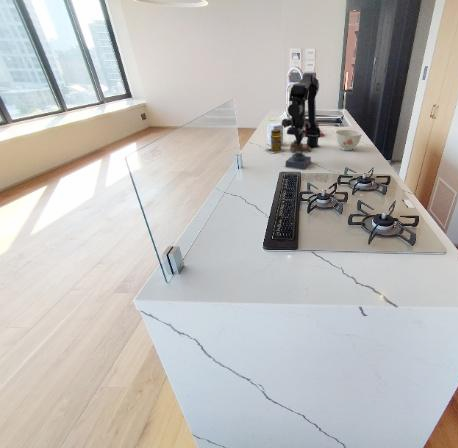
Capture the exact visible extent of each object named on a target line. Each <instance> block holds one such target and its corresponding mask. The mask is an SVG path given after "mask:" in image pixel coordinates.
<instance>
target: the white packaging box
mask: <svg viewBox="0 0 458 448" xmlns="http://www.w3.org/2000/svg"><path fill="white" fill-rule="evenodd" d="M272 130H280V135H281V146H283V145H284V126H283V125H282V123H277V122H275V123H267V124H266V133H267V134H266V135H267V137H266V138H267V145H269V146H271V131H272Z"/></svg>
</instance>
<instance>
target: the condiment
mask: <svg viewBox="0 0 458 448" xmlns="http://www.w3.org/2000/svg"><path fill="white" fill-rule="evenodd" d="M266 151H267V152H268V153H271V154H274V153H279V152H280V153H282V152H284V149H282V145H281V135H280V130H272V131H271V145H270V148H267V149H266Z"/></svg>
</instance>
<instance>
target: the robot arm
mask: <svg viewBox="0 0 458 448" xmlns="http://www.w3.org/2000/svg"><path fill="white" fill-rule="evenodd" d="M319 90H320V82H319V80H318V78H317V77H315V76H314V74H312V73H303V75H302V78H301V79H300V81H299V82H297V83H294V84H293V85H292V86H291V88H290V93H289V98H288V99H289V100H288V101H289V102H291V104H290V105H288V107H287V113H288V115H289V116H290V117H291V118H288V119H287V118H284V119H281V125H283V129H285V128H287V129H286V134H287V135H290V136H294V138H295V140H296V141H297V145H300V144H301V142H302V141H303V139H304V138H306V144H307V145H308V146H309V147H310V149H314V148H320V145H319V138H321V137H322V136H321V133H320V131H321V127H320V125H319V122H318V121H317V107H316V105H317V104H316V102H317V101H316V96H317V95H318V92H319ZM306 102H307V114H306ZM307 115H308V116H307ZM306 118H307V119H308V120H307V121H306ZM304 127H306V128H305V130H304V129H303V128H304ZM305 134H306V136H304V135H305ZM302 143H303V142H302Z"/></svg>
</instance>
